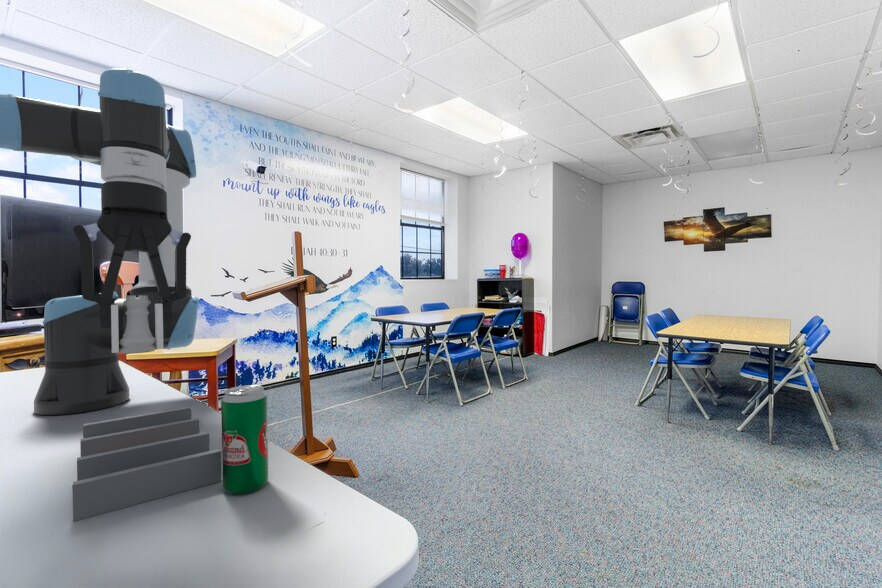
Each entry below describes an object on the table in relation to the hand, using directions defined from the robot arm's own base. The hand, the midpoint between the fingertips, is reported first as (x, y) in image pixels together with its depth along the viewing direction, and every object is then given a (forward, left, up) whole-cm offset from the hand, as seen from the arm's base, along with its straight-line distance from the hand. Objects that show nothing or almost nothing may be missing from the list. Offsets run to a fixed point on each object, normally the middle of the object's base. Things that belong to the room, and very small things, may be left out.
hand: (137, 349), depth 59 cm
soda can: (+19, +10, -16) cm, 26 cm away
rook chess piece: (0, 0, 0) cm, 0 cm away
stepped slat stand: (+3, +1, -16) cm, 16 cm away
